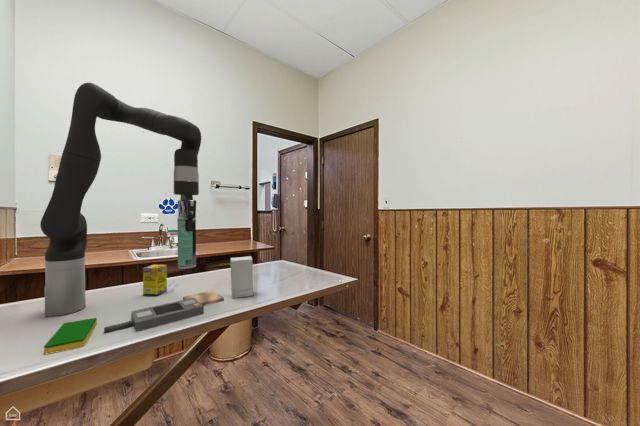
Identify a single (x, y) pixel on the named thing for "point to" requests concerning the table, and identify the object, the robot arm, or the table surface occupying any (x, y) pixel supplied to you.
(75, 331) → the dish sponge
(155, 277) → the supplement box
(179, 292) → the table surface
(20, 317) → the table surface
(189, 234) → the spray can
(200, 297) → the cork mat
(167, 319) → the power strip
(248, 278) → the skincare box
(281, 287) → the table surface
